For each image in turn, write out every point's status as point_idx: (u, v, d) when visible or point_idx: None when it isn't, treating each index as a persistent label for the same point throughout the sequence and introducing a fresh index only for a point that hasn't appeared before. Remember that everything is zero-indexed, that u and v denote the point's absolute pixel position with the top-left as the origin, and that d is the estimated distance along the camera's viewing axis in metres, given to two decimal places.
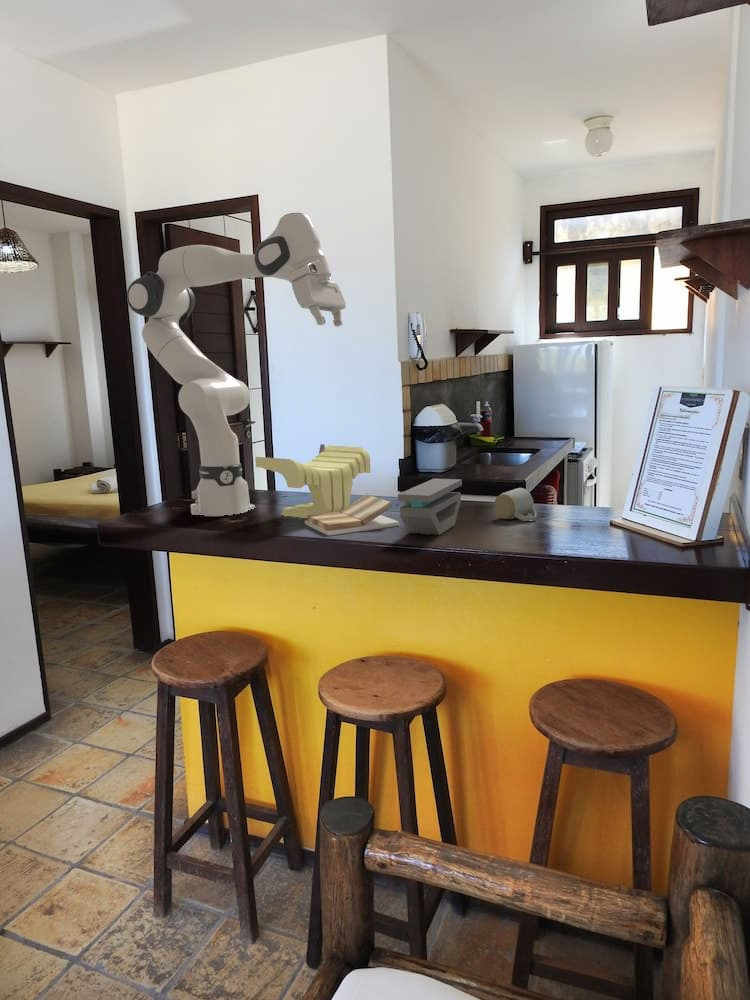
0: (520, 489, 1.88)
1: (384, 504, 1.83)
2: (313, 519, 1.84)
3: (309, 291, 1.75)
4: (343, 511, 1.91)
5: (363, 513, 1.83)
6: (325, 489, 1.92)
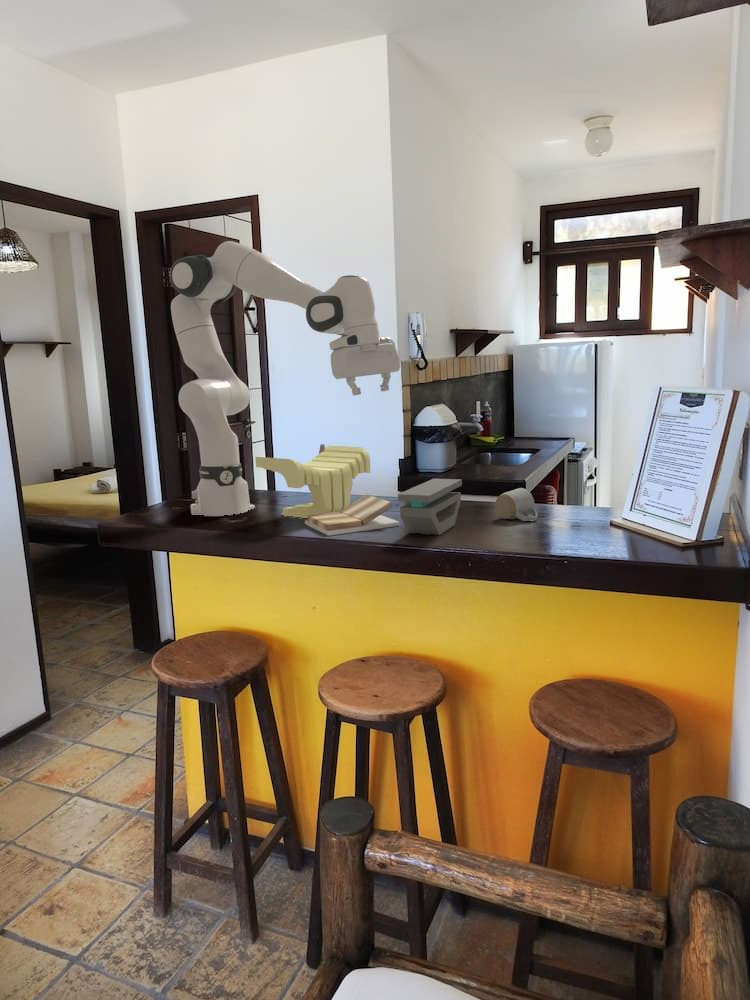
0: (521, 489, 1.88)
1: (384, 504, 1.83)
2: (313, 519, 1.84)
3: (341, 366, 1.76)
4: (343, 511, 1.91)
5: (363, 513, 1.83)
6: (325, 489, 1.92)
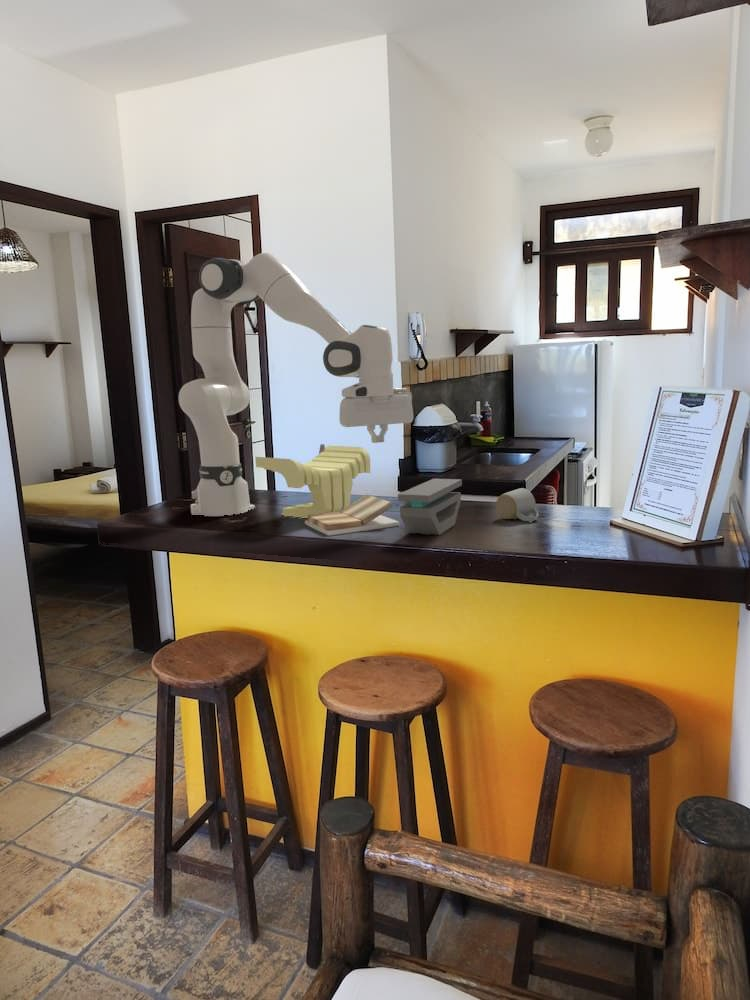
0: (522, 489, 1.88)
1: (384, 504, 1.83)
2: (313, 519, 1.84)
3: (346, 416, 1.79)
4: (343, 511, 1.91)
5: (363, 513, 1.83)
6: (325, 489, 1.92)
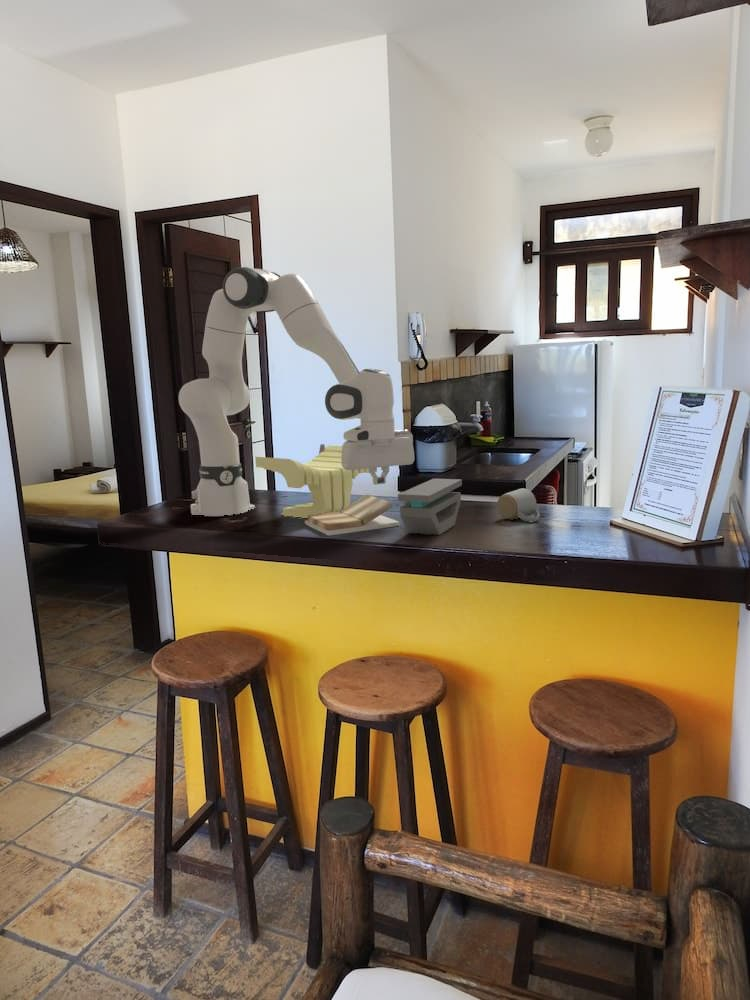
0: (523, 489, 1.87)
1: (384, 504, 1.83)
2: (313, 519, 1.84)
3: (348, 459, 1.81)
4: (343, 511, 1.91)
5: (363, 513, 1.83)
6: (325, 489, 1.92)
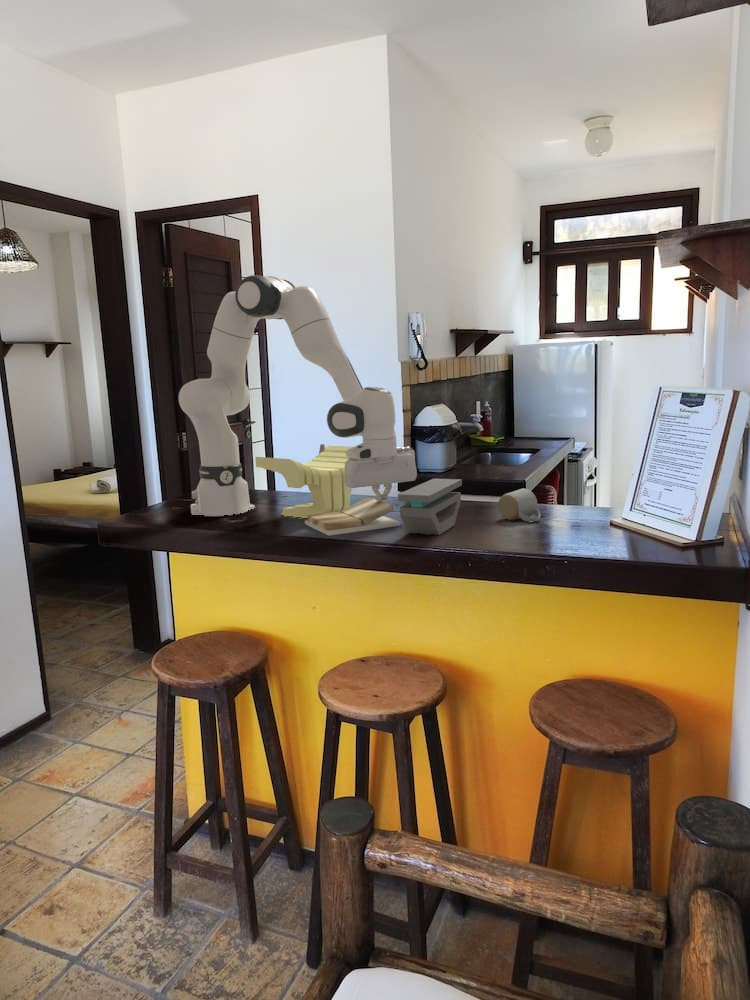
0: (524, 490, 1.87)
1: (386, 507, 1.83)
2: (313, 519, 1.84)
3: (351, 477, 1.82)
4: (344, 511, 1.91)
5: (363, 514, 1.83)
6: (325, 489, 1.92)
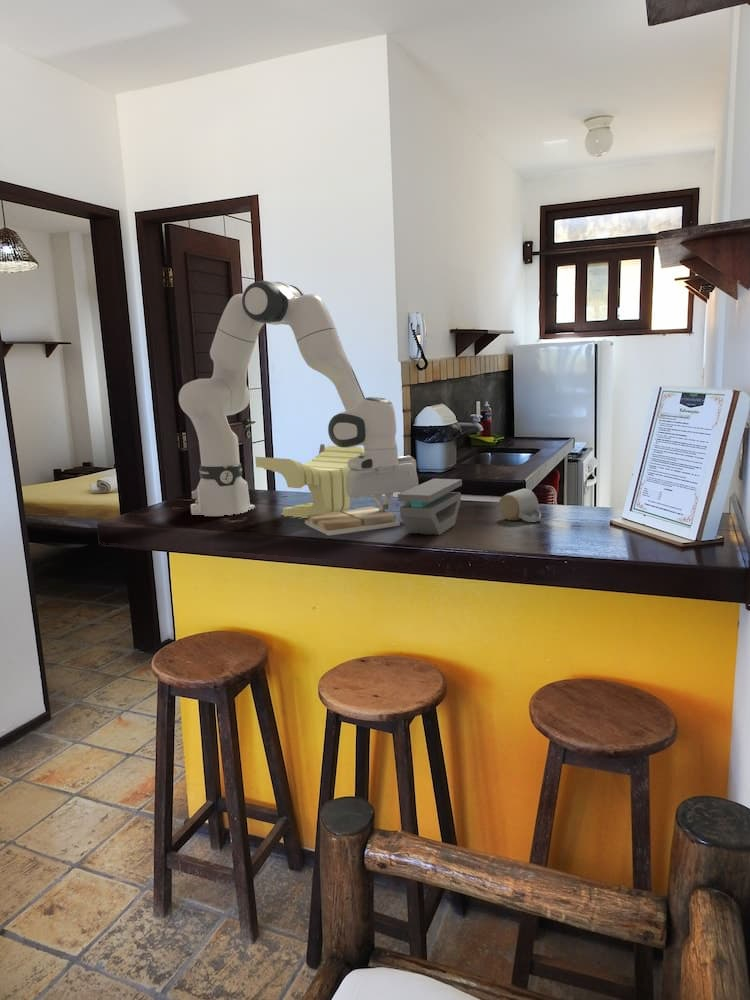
0: (525, 490, 1.87)
1: (389, 514, 1.84)
2: (313, 519, 1.84)
3: (353, 487, 1.82)
4: (345, 511, 1.91)
5: (366, 516, 1.84)
6: (325, 489, 1.92)
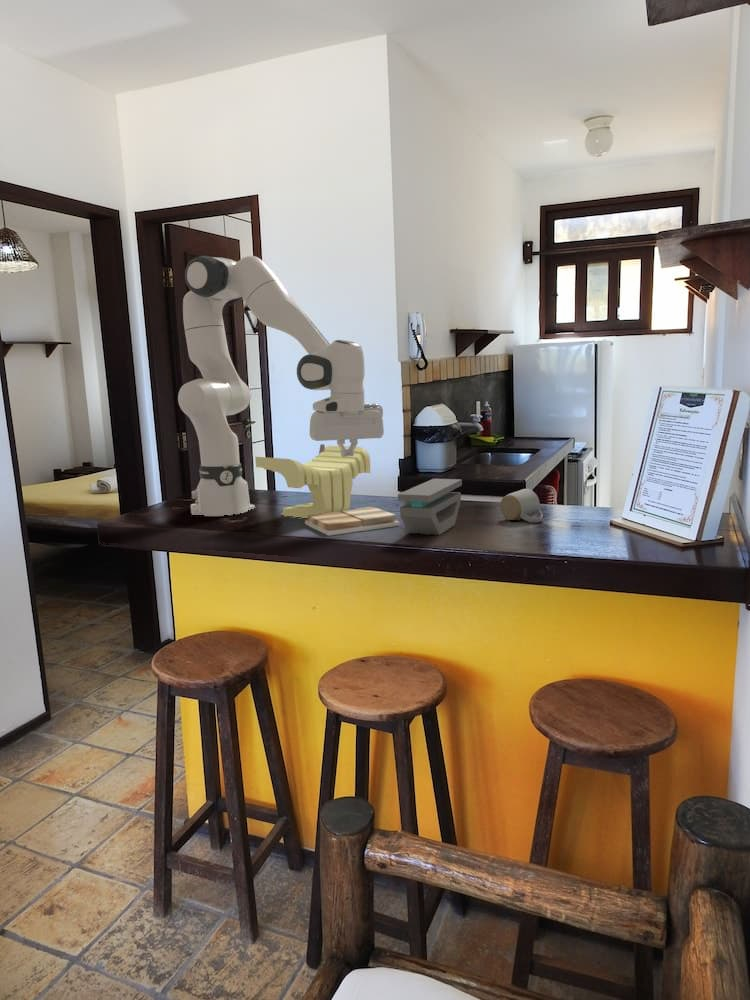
0: (526, 490, 1.86)
1: (389, 515, 1.84)
2: (313, 519, 1.84)
3: (316, 430, 1.81)
4: (345, 511, 1.91)
5: (366, 516, 1.84)
6: (325, 489, 1.92)
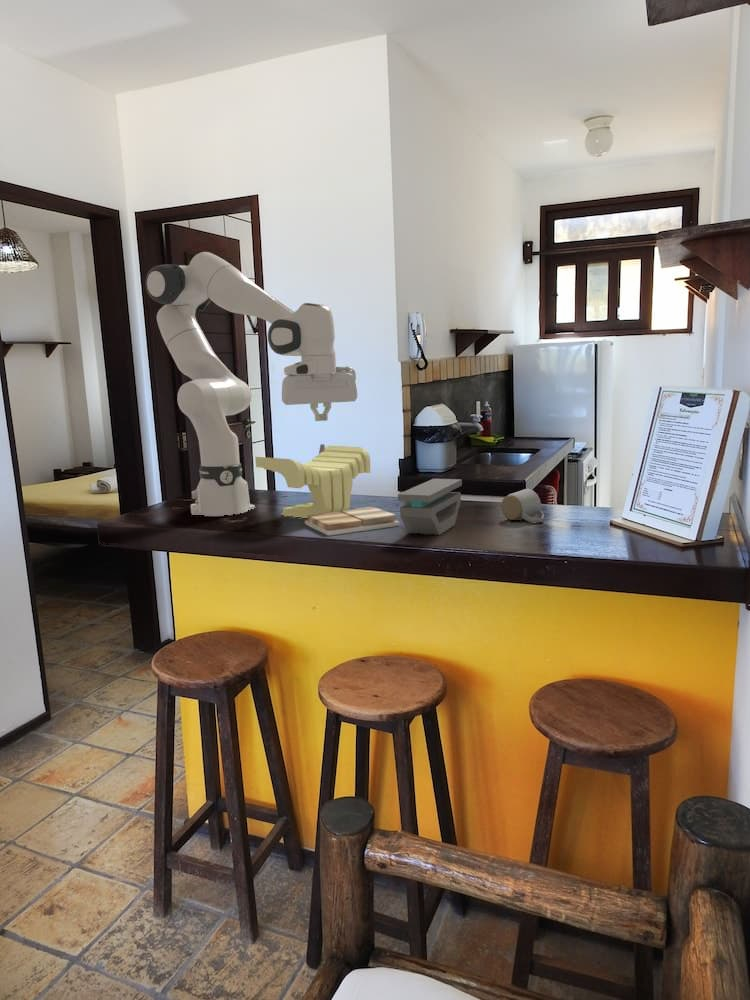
0: (527, 490, 1.86)
1: (389, 515, 1.84)
2: (313, 519, 1.84)
3: (288, 393, 1.79)
4: (345, 511, 1.91)
5: (366, 516, 1.84)
6: (325, 489, 1.92)
